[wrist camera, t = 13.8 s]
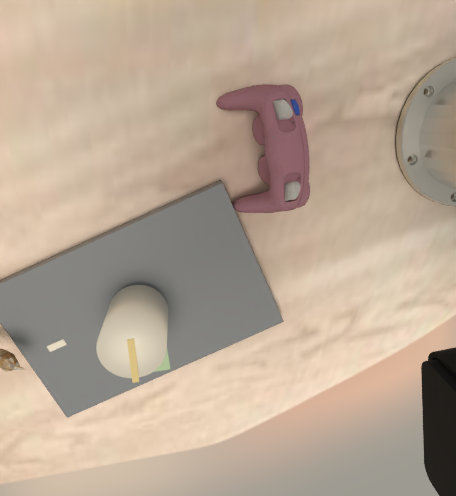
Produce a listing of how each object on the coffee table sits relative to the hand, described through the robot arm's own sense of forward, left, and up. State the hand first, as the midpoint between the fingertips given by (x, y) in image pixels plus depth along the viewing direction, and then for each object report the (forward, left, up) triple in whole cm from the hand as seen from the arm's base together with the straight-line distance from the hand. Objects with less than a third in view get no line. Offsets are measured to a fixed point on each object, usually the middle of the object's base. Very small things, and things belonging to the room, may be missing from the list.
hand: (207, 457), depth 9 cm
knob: (+8, +9, -28) cm, 30 cm away
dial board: (+8, +7, -29) cm, 31 cm away
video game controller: (-7, -1, -30) cm, 30 cm away
